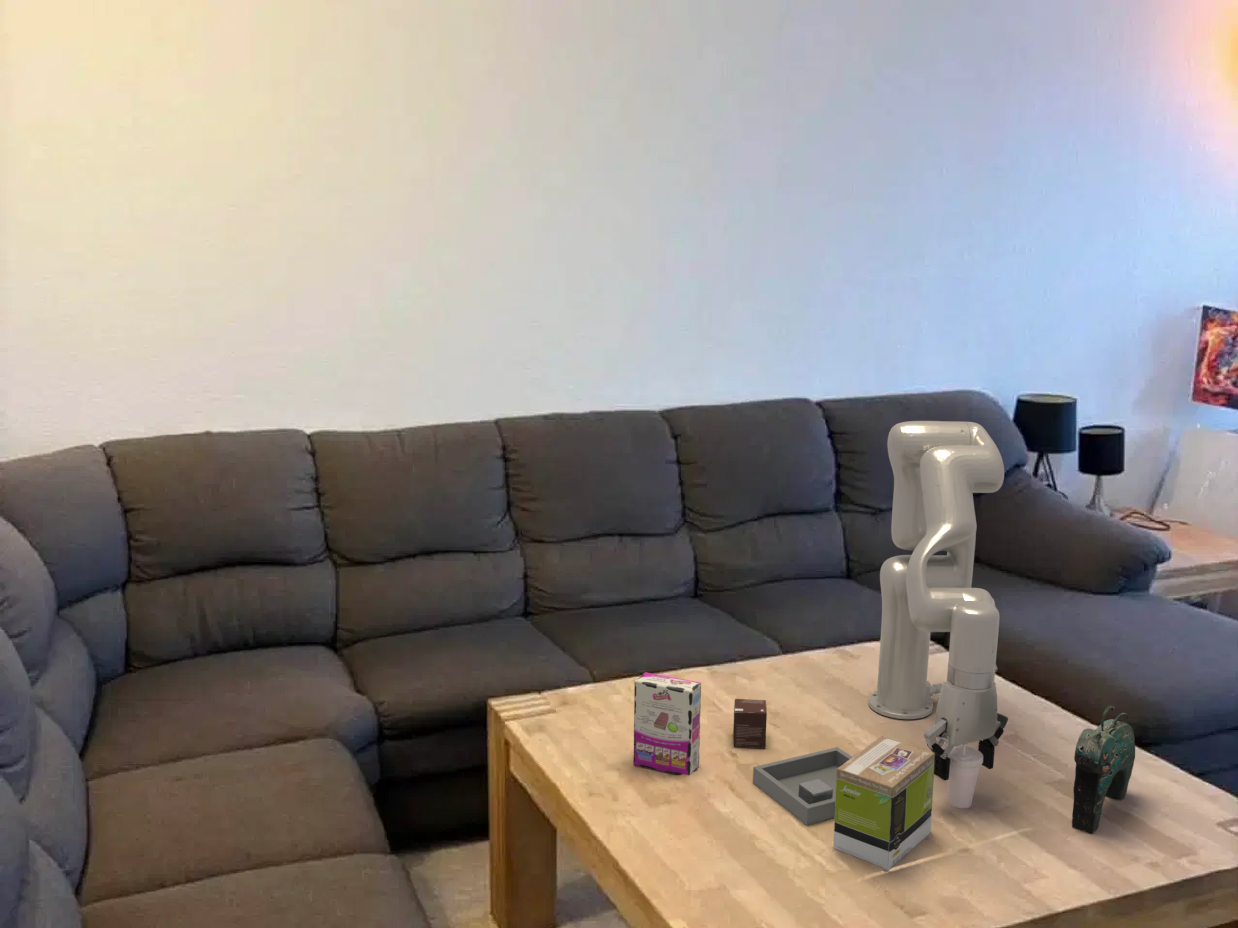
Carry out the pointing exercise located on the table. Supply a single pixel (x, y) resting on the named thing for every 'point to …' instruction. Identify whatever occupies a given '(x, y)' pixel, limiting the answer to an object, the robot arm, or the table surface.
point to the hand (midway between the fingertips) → (963, 771)
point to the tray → (789, 773)
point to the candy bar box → (667, 724)
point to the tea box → (884, 801)
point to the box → (749, 723)
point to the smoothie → (963, 775)
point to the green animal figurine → (1101, 769)
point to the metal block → (815, 791)
